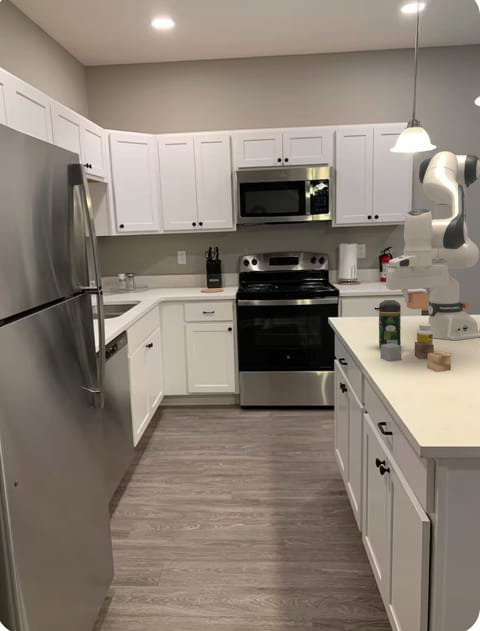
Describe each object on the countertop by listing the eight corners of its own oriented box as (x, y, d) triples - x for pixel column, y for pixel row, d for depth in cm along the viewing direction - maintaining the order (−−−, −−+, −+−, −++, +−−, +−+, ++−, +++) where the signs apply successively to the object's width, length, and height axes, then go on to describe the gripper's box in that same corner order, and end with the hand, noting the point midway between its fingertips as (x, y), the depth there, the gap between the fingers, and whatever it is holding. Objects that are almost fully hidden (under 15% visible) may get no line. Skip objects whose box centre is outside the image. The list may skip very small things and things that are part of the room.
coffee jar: (378, 345, 191) (378, 298, 188) (399, 345, 189) (400, 298, 185) (378, 351, 182) (378, 302, 178) (400, 352, 180) (401, 302, 176)
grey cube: (392, 356, 174) (392, 343, 173) (401, 360, 170) (401, 346, 169) (380, 358, 173) (380, 344, 172) (389, 361, 168) (389, 347, 167)
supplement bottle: (430, 353, 176) (431, 326, 175) (415, 351, 179) (415, 325, 178) (433, 349, 181) (434, 323, 179) (418, 348, 184) (419, 322, 182)
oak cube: (440, 366, 160) (440, 351, 159) (450, 370, 155) (451, 355, 154) (427, 368, 159) (427, 353, 158) (437, 372, 154) (437, 356, 153)
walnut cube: (428, 355, 174) (429, 341, 173) (433, 358, 169) (433, 344, 168) (414, 355, 175) (414, 341, 174) (418, 359, 170) (419, 345, 169)
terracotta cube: (420, 306, 164) (421, 291, 163) (427, 308, 159) (428, 293, 158) (406, 307, 164) (406, 292, 163) (413, 309, 159) (413, 294, 158)
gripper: (443, 258, 162) (442, 298, 165) (384, 261, 161) (384, 302, 163) (453, 259, 156) (452, 301, 159) (391, 262, 155) (391, 305, 157)
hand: (417, 301), depth 161 cm, fingers closed on terracotta cube, 5 cm apart
